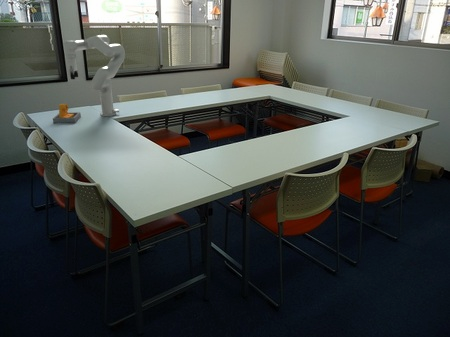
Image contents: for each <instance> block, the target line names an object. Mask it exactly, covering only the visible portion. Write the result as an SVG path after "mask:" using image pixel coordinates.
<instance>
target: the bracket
mask: <svg viewBox="0 0 450 337" xmlns="http://www.w3.org/2000/svg"><path fill="white" fill-rule="evenodd" d="M58 108H59V109H58V114H59V118H73V117H74V114H68V113H69V112H68V110H69V105H68V104H67V103H59V105H58Z"/></svg>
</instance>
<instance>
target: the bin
mask: <svg viewBox="0 0 450 337" xmlns="http://www.w3.org/2000/svg"><path fill="white" fill-rule="evenodd" d="M68 114H74V117H73V118H59V113H57V114H56V115H55V116H54V117H53V118H52V123H53V124H77V123H78V121H80V119H81V118H82V114H81V112H78V111H77V112H75V111H74V112H72V111H71V112H68Z"/></svg>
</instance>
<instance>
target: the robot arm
mask: <svg viewBox="0 0 450 337" xmlns="http://www.w3.org/2000/svg"><path fill="white" fill-rule="evenodd" d="M63 46H64V47H63V48H64V52H65V58H66V61H67V63H66V64H67V71H68V72H69V75H70V79H71V80H76V78H79V73H78V65H77V64H78V63H77V60H76V59H77V54H76V52H77V51H84V50H90V49H92V50H94V49H96V50H98V51H99V53H101V54H103V55H104V56H106V57H108V58H109V57H111V58H110V60H109V61H108V64H107V65H105V66H103V67H100V68H99V69H97V71H96V72H95V74H94V75H93V78H92V80H91V84H90V85H91V87H92V89H93V90H95V91H99V99H100V106H101V113H100V116H102V117H112V116H113V117H114V116H115V115H117V113H120V110H119V109H115V107H114V101H113V100H114V99H113V91H112V89H113V88H112V84H113V83H112V79H113V78H114V77H115V76H116V74H117V73H118V71H119V69H120V67H121V66H122V64H123V63H124V60H125V58H126V51H125V48H124V46H123V45H121V44H120V43H111V44H110V38H109V36H107V35H106V34H101V35H100V34H99V35H94V36H90V37H88V38H86V39H78V40H64V41H63Z"/></svg>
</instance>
